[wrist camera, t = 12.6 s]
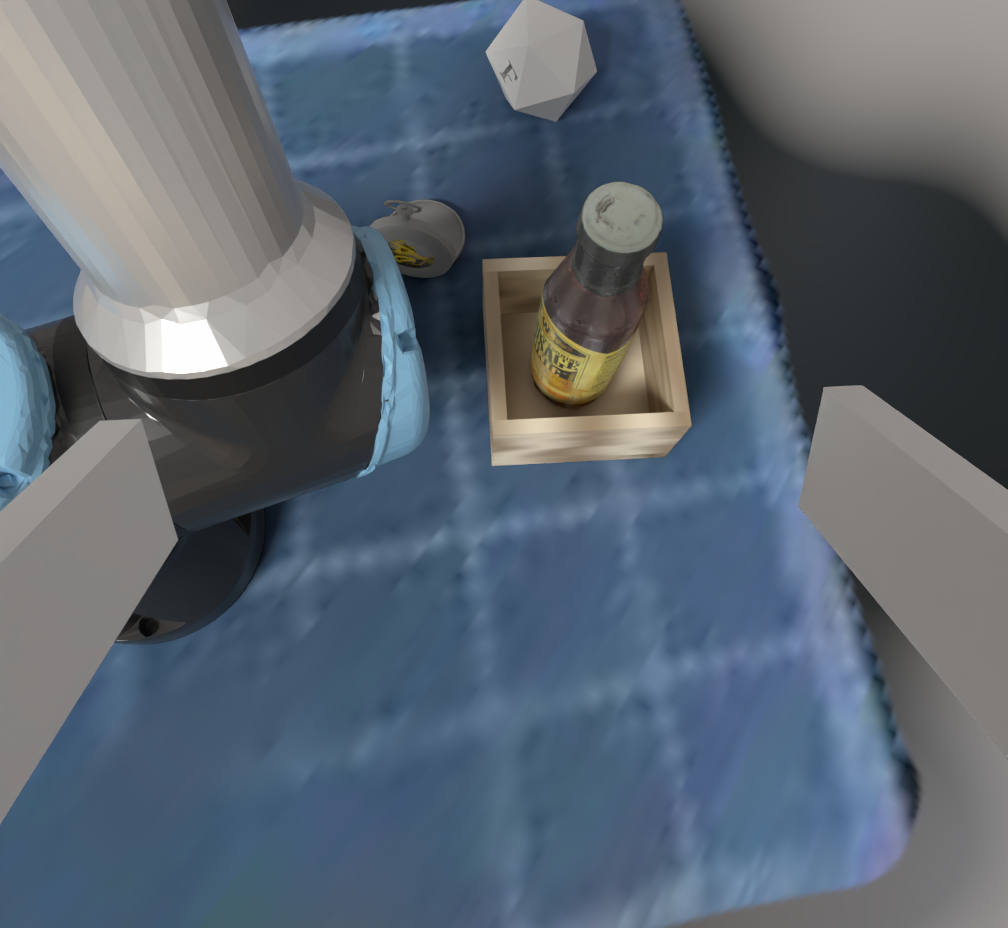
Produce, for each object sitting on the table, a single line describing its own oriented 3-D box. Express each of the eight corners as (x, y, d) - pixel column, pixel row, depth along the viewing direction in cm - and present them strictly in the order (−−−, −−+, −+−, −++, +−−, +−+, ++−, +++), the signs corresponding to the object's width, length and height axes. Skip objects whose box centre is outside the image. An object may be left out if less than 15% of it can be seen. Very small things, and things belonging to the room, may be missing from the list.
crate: (491, 465, 51) (492, 435, 44) (482, 309, 54) (482, 259, 48) (664, 457, 51) (691, 425, 45) (644, 302, 55) (666, 252, 48)
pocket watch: (446, 196, 57) (438, 102, 48) (487, 277, 55) (487, 196, 46) (354, 229, 56) (327, 140, 47) (392, 313, 54) (372, 238, 44)
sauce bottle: (515, 354, 52) (529, 175, 33) (589, 326, 53) (644, 134, 34) (550, 429, 51) (586, 284, 31) (626, 398, 51) (705, 239, 32)
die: (492, 62, 62) (457, 30, 53) (575, 1, 59) (552, -44, 50) (534, 145, 63) (506, 127, 55) (617, 90, 60) (602, 61, 51)
